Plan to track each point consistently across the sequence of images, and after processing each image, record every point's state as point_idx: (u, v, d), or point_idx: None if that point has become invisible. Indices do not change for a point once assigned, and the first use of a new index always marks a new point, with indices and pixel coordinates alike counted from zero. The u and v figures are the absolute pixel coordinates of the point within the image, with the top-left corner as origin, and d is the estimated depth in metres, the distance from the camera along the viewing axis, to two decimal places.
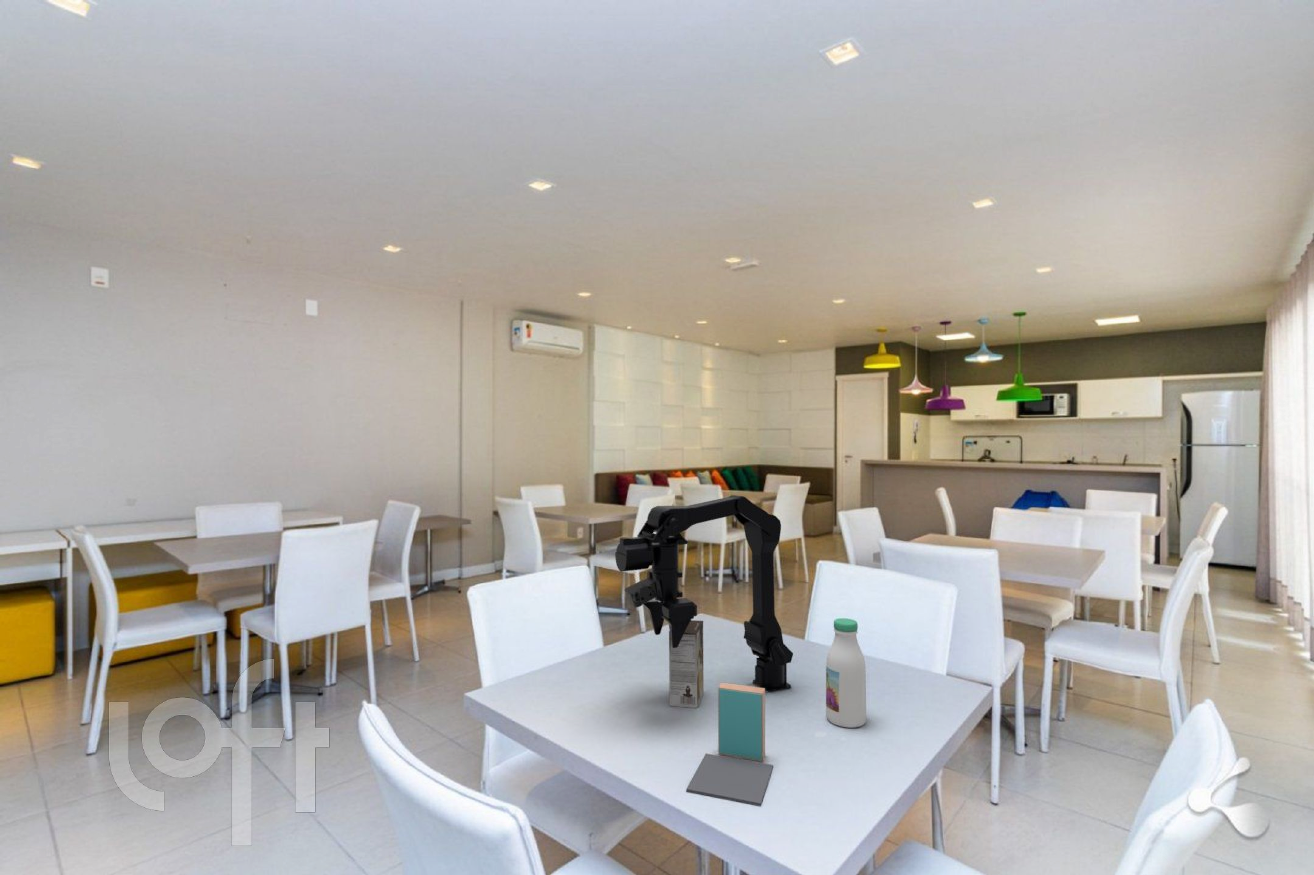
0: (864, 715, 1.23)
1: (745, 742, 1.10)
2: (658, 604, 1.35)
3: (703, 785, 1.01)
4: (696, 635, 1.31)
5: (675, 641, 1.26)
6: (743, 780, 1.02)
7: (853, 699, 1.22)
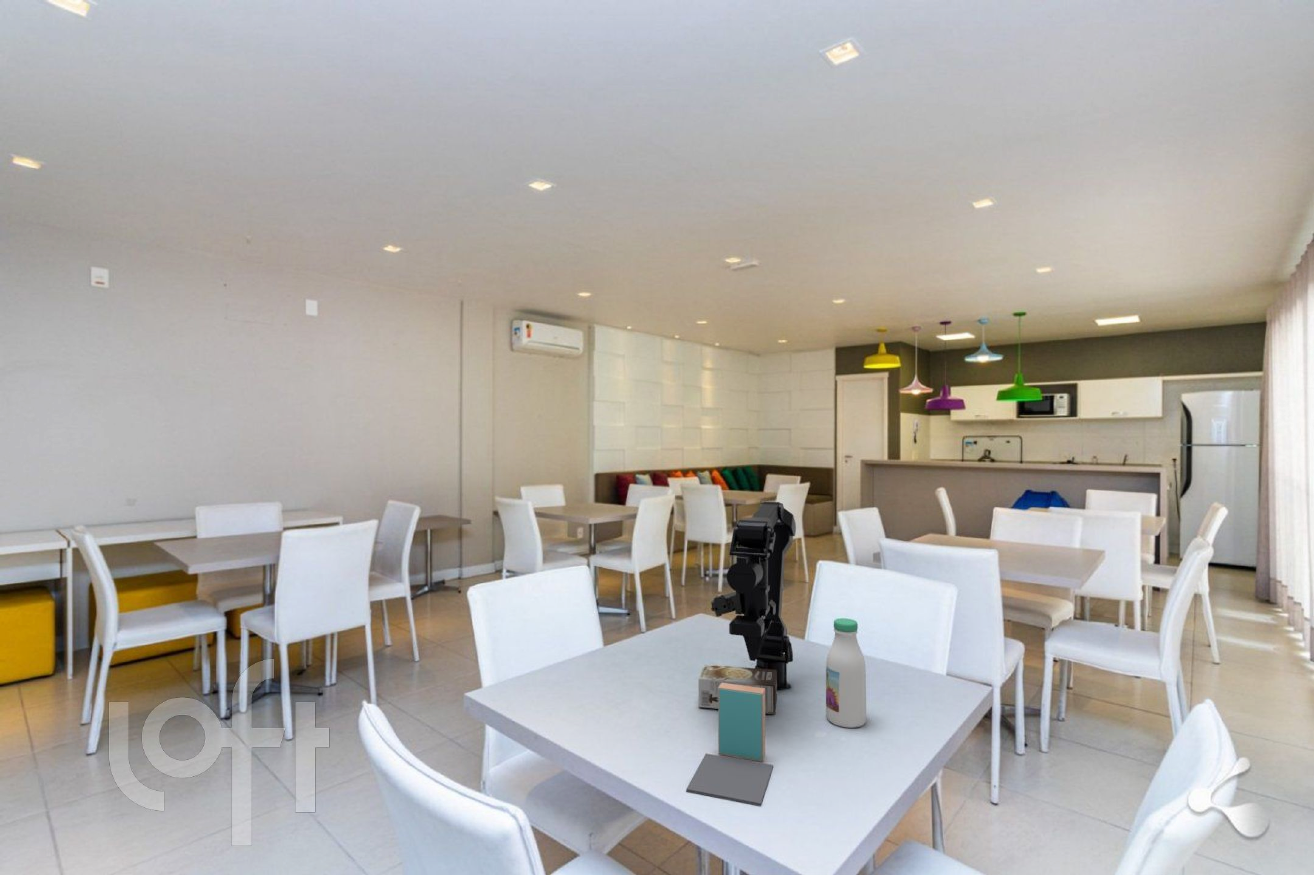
0: (864, 715, 1.23)
1: (745, 742, 1.10)
2: None
3: (703, 785, 1.01)
4: (772, 713, 1.27)
5: (751, 654, 1.25)
6: (743, 780, 1.02)
7: (853, 699, 1.22)
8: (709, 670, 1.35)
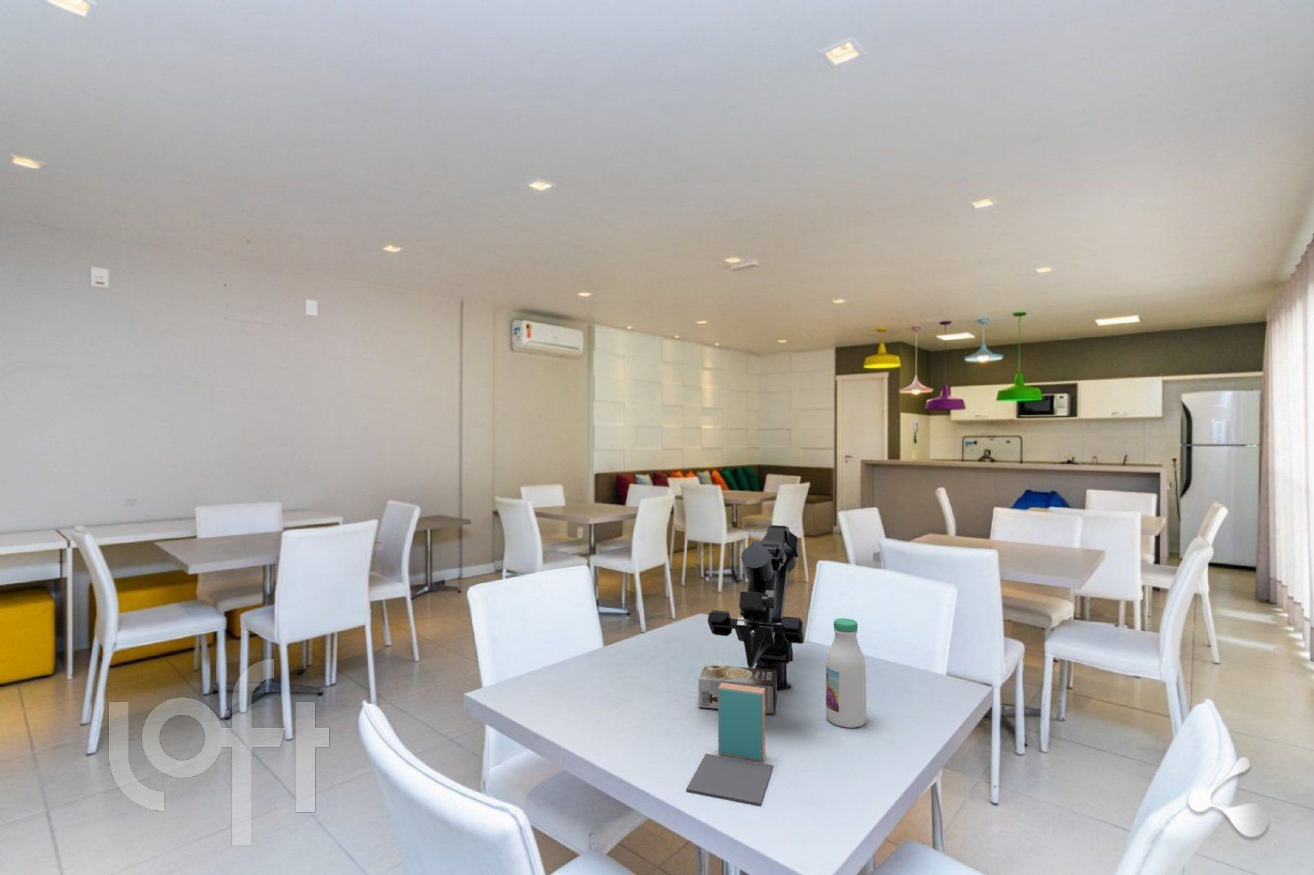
0: (864, 715, 1.23)
1: (745, 742, 1.10)
2: (751, 637, 1.24)
3: (703, 785, 1.01)
4: (772, 713, 1.27)
5: (755, 659, 1.20)
6: (743, 780, 1.02)
7: (853, 699, 1.22)
8: (709, 670, 1.35)
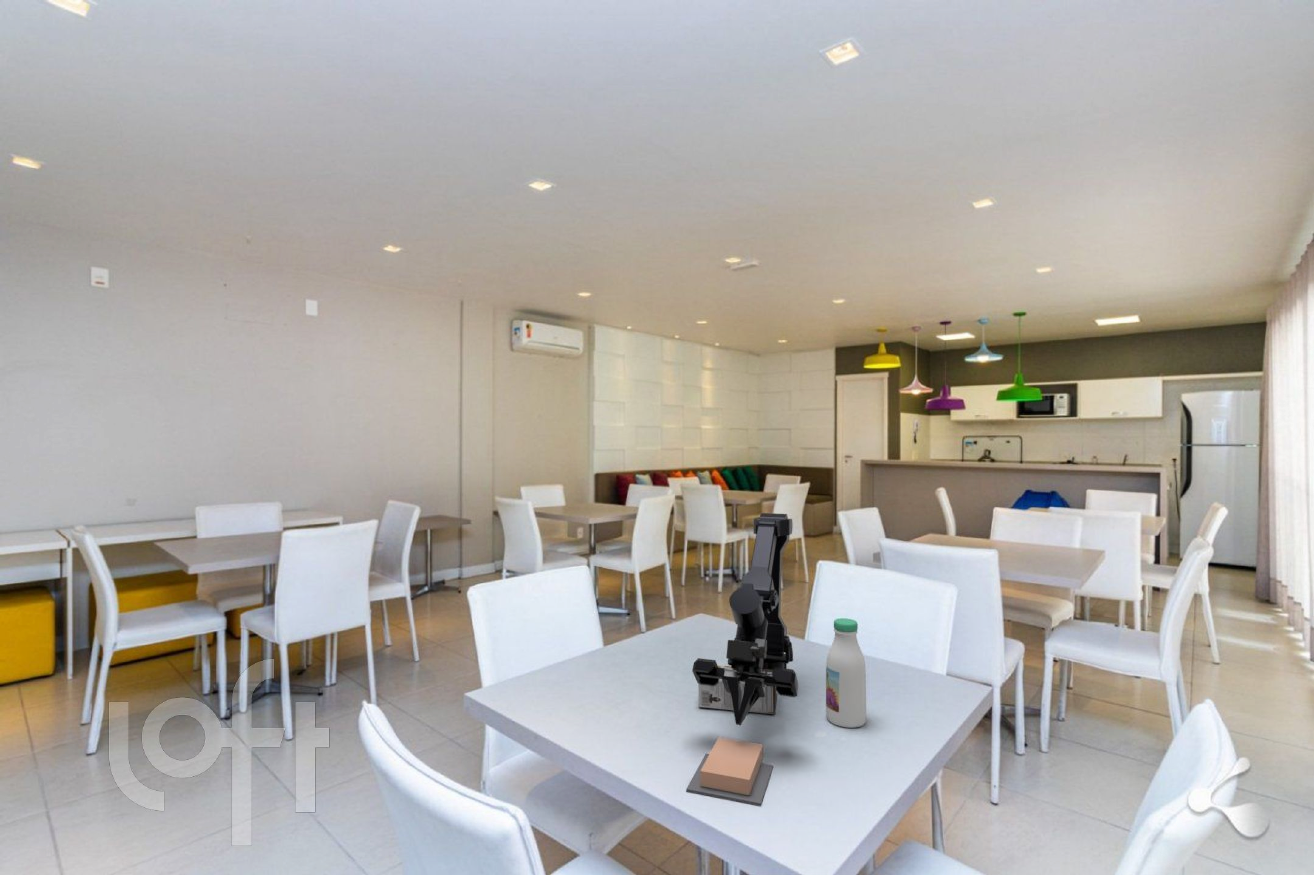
0: (864, 715, 1.23)
1: None
2: (739, 689, 1.14)
3: None
4: (772, 713, 1.27)
5: (743, 715, 1.09)
6: None
7: (853, 699, 1.22)
8: None
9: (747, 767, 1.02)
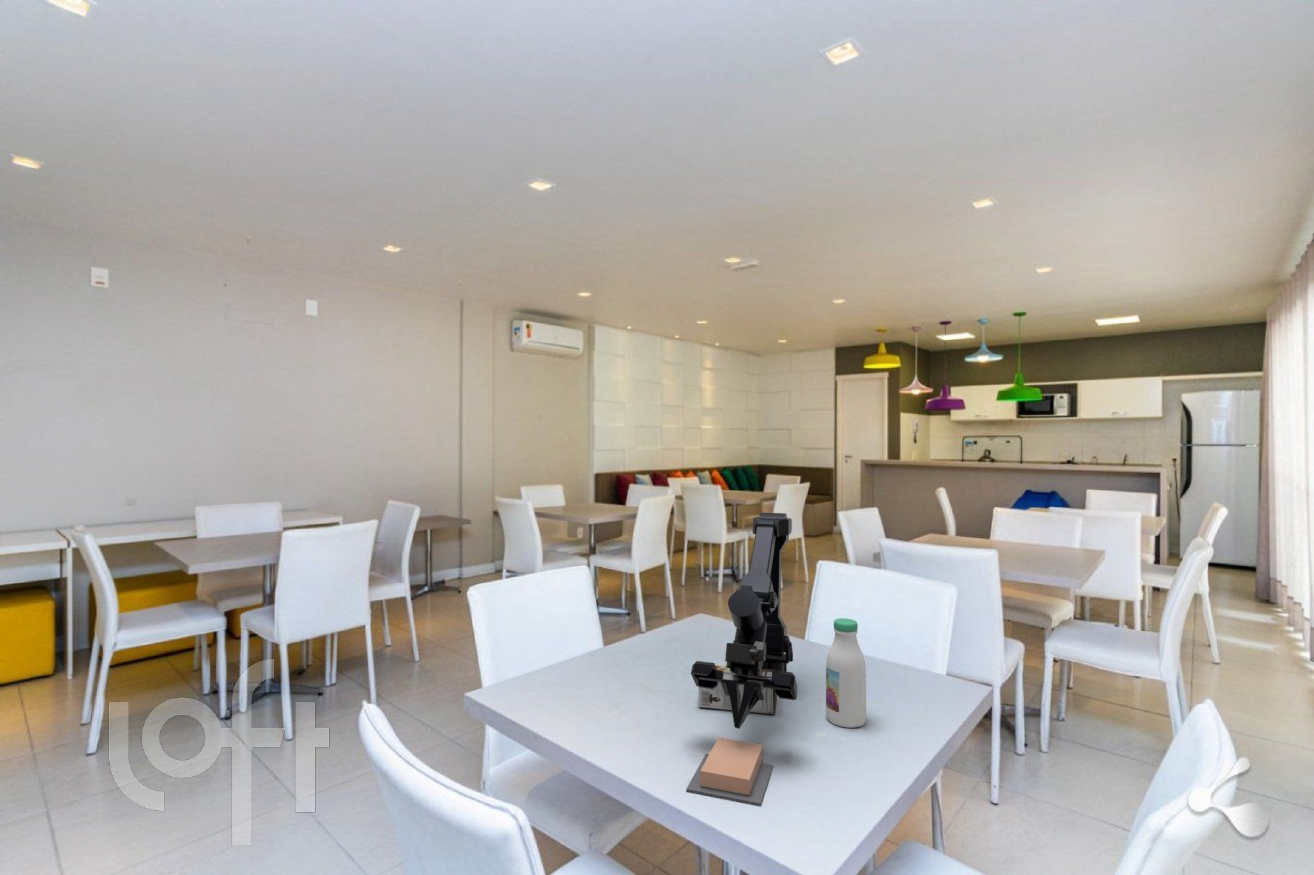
0: (864, 715, 1.23)
1: None
2: (738, 692, 1.13)
3: None
4: (772, 713, 1.27)
5: (742, 719, 1.08)
6: None
7: (853, 699, 1.22)
8: None
9: (747, 767, 1.02)
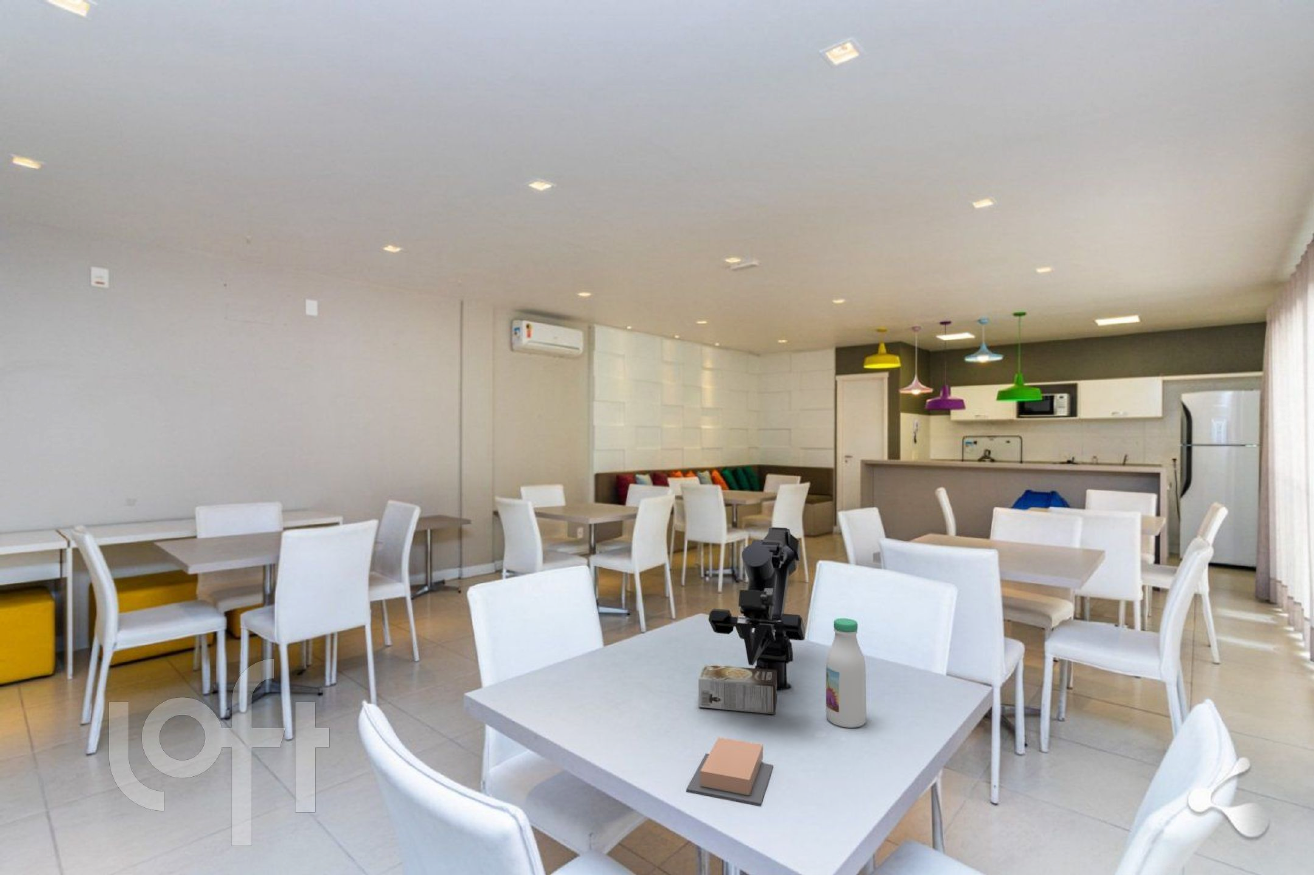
0: (864, 715, 1.23)
1: None
2: (752, 634, 1.25)
3: None
4: (772, 713, 1.27)
5: (755, 657, 1.21)
6: None
7: (853, 699, 1.22)
8: (709, 670, 1.35)
9: (747, 767, 1.02)
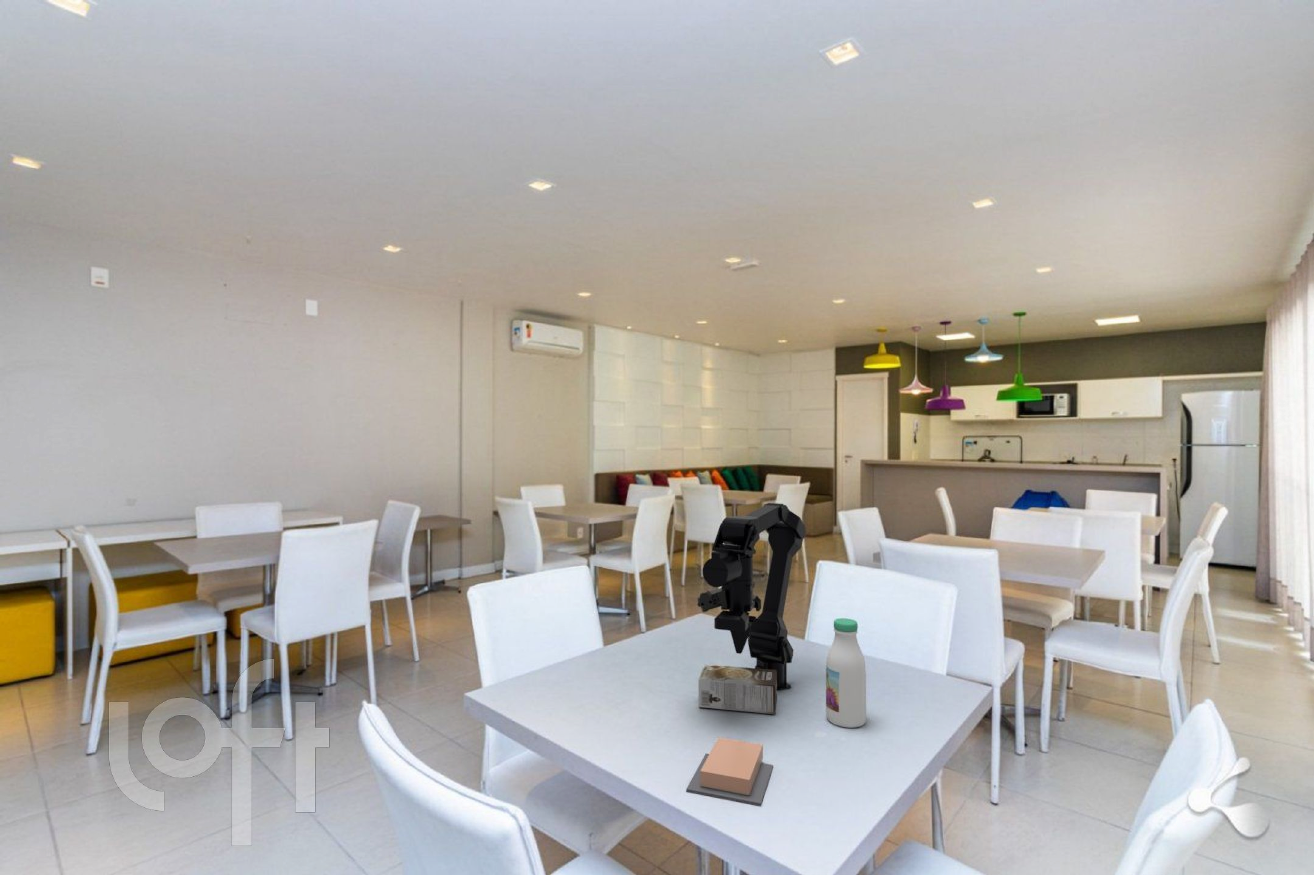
0: (864, 715, 1.23)
1: None
2: None
3: None
4: (772, 713, 1.27)
5: (737, 647, 1.29)
6: None
7: (853, 699, 1.22)
8: (709, 670, 1.35)
9: (747, 767, 1.02)
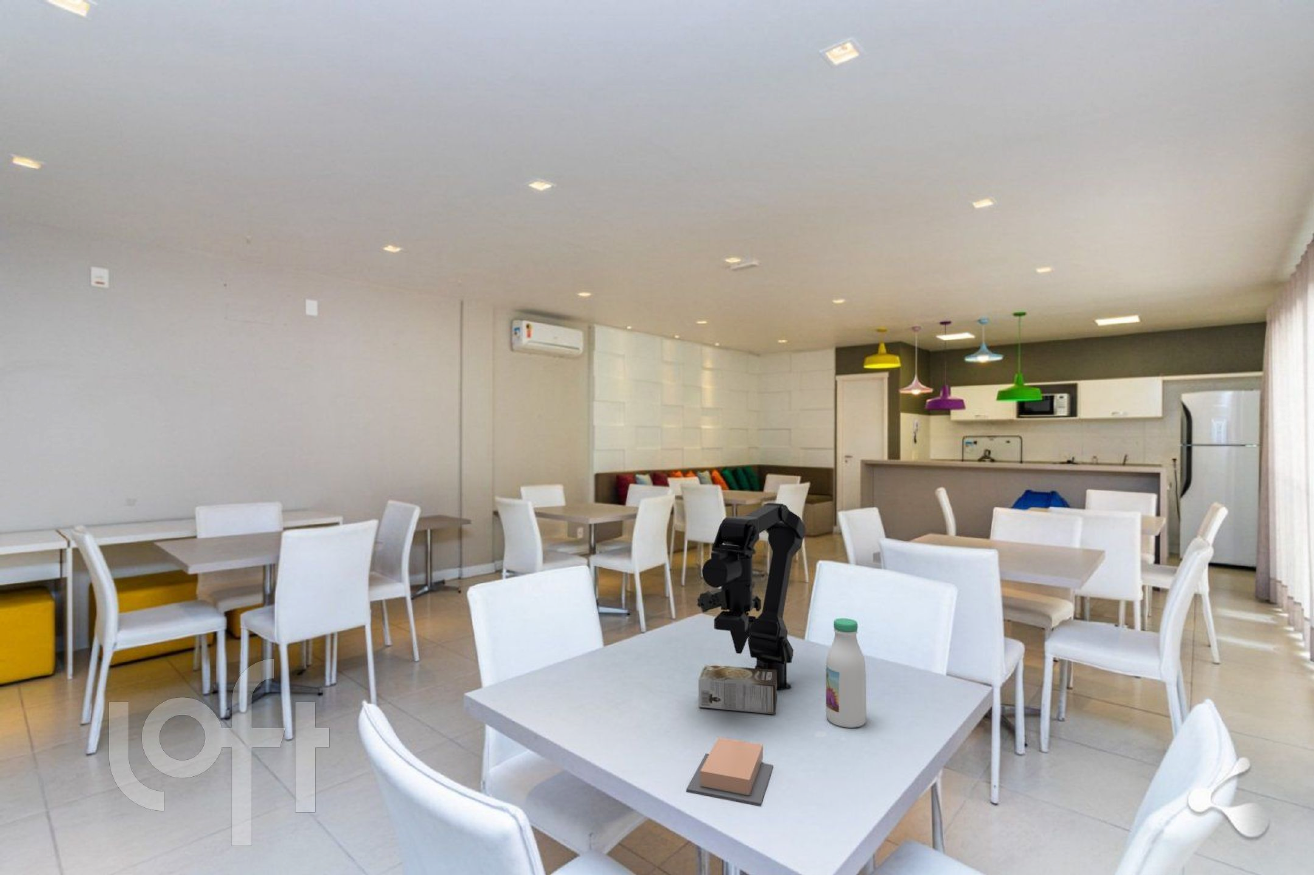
0: (864, 715, 1.23)
1: None
2: None
3: None
4: (772, 713, 1.27)
5: (737, 647, 1.29)
6: None
7: (853, 699, 1.22)
8: (709, 670, 1.35)
9: (747, 767, 1.02)
